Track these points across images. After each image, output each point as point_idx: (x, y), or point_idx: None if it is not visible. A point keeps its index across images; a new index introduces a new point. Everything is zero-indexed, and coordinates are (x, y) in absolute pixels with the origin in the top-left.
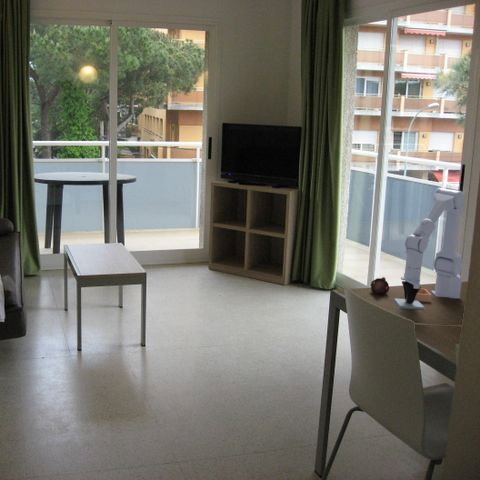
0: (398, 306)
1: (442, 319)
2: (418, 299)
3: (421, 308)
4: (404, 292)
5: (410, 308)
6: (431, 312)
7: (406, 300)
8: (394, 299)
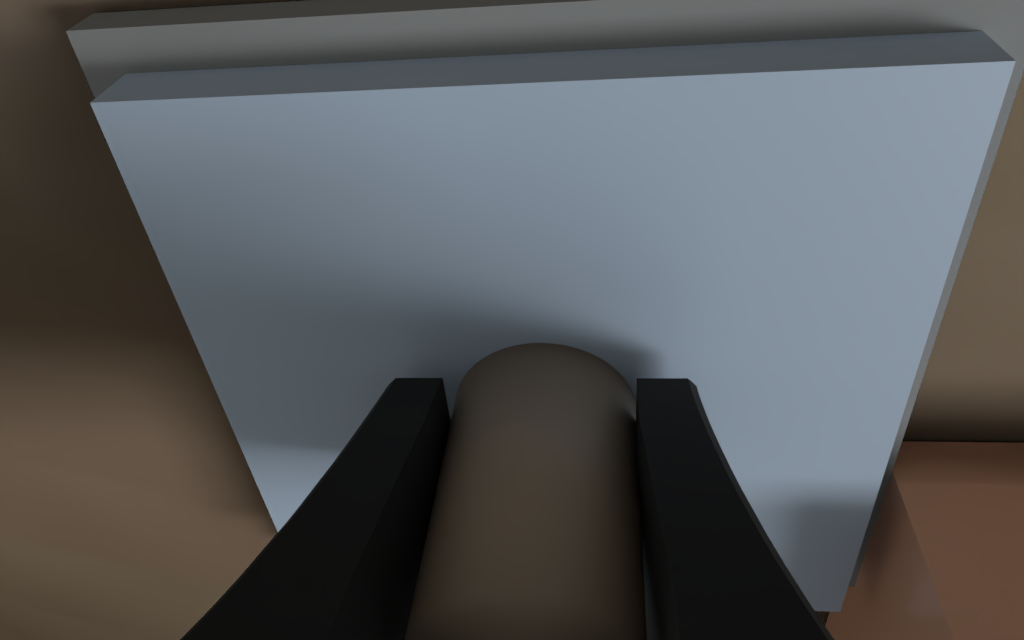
0: (258, 54)
1: (2, 624)
2: (865, 631)
3: None
4: (736, 566)
5: None
6: None
7: (499, 399)
8: (926, 55)
